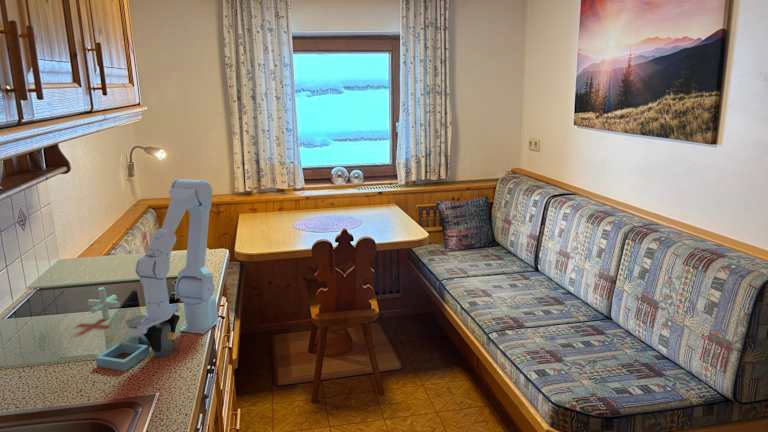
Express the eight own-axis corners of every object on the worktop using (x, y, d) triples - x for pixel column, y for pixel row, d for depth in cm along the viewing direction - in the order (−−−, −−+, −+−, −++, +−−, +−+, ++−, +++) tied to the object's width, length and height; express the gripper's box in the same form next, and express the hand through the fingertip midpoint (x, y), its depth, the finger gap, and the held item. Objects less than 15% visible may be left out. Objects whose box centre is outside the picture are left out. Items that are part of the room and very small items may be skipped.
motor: (145, 332, 164) (142, 311, 162) (166, 334, 162) (163, 313, 160) (118, 349, 154) (115, 327, 152) (140, 352, 152) (137, 330, 150)
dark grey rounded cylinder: (162, 347, 154) (158, 321, 152) (182, 350, 153) (179, 323, 150) (150, 356, 150) (146, 328, 148) (171, 359, 148) (167, 331, 146)
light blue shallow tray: (122, 349, 154) (120, 341, 153) (149, 354, 151) (148, 345, 150) (97, 366, 145) (95, 357, 145) (125, 371, 143) (124, 362, 142)
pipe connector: (109, 326, 168) (104, 295, 165) (80, 324, 170) (75, 293, 167) (130, 312, 177) (126, 283, 175) (103, 310, 179) (98, 281, 177)
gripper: (162, 287, 155) (168, 332, 159) (124, 309, 142) (132, 357, 145) (183, 290, 153) (189, 335, 157) (148, 312, 140) (154, 360, 143)
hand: (163, 346), depth 151 cm, fingers closed on dark grey rounded cylinder, 5 cm apart
